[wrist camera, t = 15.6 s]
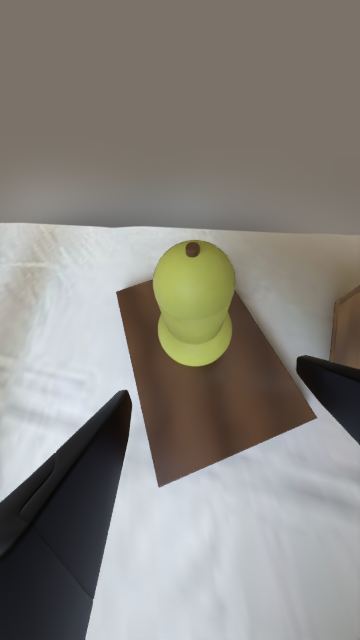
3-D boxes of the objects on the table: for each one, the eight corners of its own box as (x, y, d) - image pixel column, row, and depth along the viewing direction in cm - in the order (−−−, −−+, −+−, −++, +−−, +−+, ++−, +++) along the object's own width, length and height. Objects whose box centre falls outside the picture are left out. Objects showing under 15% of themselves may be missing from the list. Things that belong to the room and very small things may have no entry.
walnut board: (162, 478, 14) (158, 488, 13) (121, 299, 23) (115, 291, 22) (305, 416, 15) (317, 418, 14) (213, 268, 24) (214, 258, 23)
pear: (204, 386, 16) (223, 350, 5) (153, 349, 18) (85, 266, 7) (236, 333, 18) (299, 225, 7) (186, 305, 20) (175, 189, 9)
